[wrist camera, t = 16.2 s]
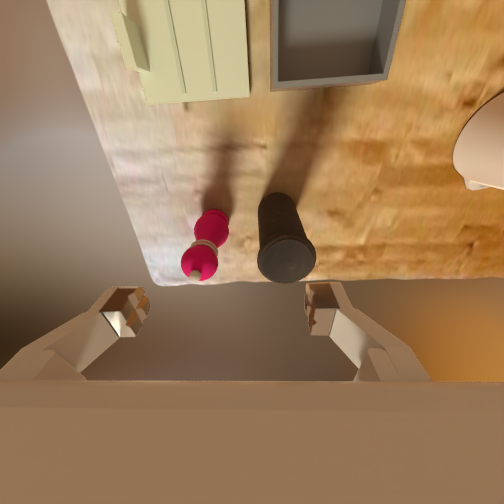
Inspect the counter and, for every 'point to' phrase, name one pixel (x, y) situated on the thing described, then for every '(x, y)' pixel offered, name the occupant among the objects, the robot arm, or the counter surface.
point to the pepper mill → (205, 246)
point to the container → (283, 241)
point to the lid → (185, 48)
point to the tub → (331, 42)
